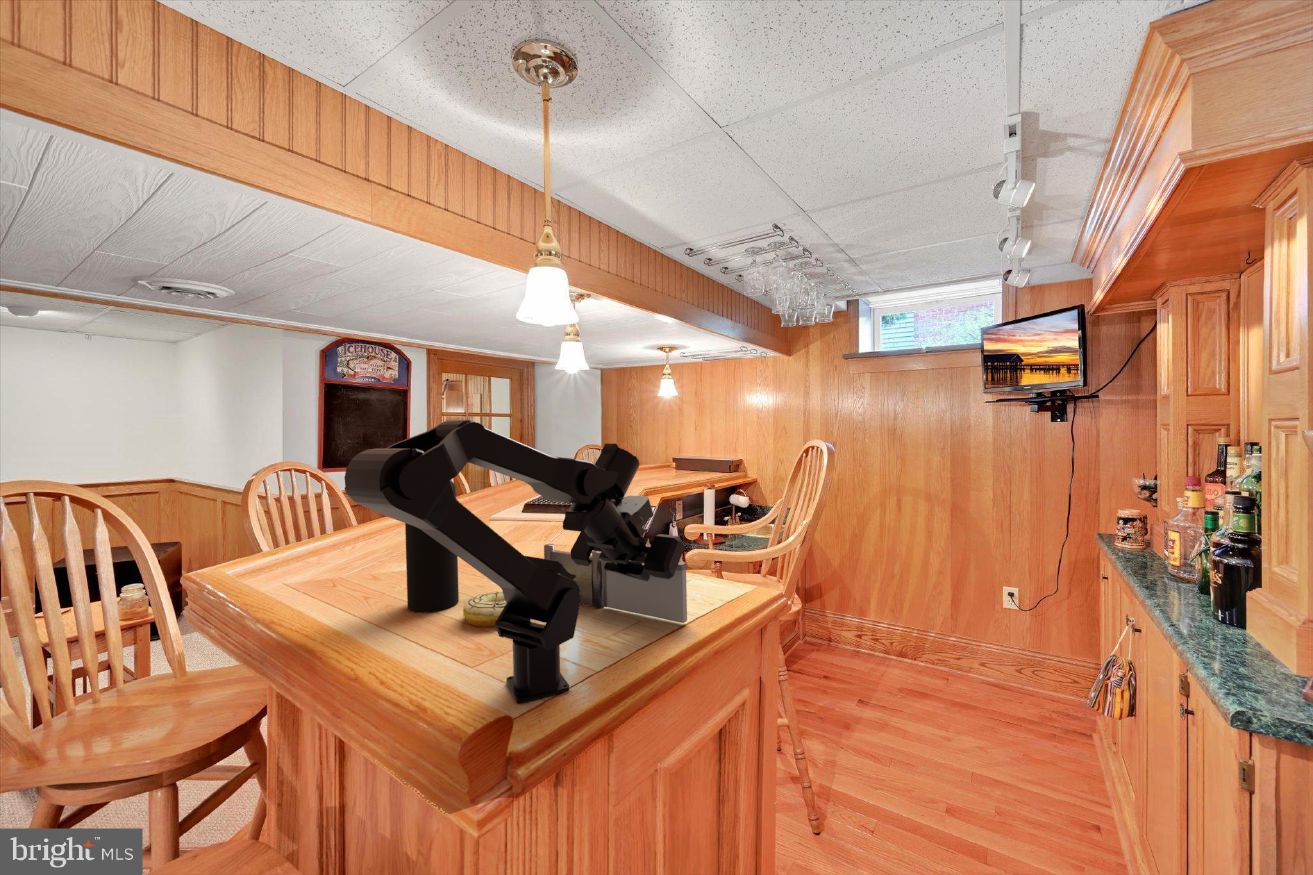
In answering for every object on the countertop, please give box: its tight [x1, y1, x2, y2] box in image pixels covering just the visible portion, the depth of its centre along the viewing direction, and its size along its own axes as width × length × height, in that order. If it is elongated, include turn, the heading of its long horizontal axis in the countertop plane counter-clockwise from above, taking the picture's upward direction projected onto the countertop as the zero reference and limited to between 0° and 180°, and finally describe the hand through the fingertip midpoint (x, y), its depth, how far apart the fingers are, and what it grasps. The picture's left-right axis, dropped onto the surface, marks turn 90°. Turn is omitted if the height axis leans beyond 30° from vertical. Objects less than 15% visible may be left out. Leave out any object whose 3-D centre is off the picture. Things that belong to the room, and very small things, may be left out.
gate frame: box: [543, 543, 605, 610], centre depth 97 cm, size 14×2×10 cm, turn 57°
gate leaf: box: [603, 561, 688, 624], centre depth 89 cm, size 17×2×10 cm, turn 57°
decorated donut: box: [462, 591, 507, 628], centre depth 90 cm, size 10×11×4 cm
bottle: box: [404, 479, 460, 613], centre depth 97 cm, size 9×9×28 cm
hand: (647, 578), depth 86 cm, fingers closed
